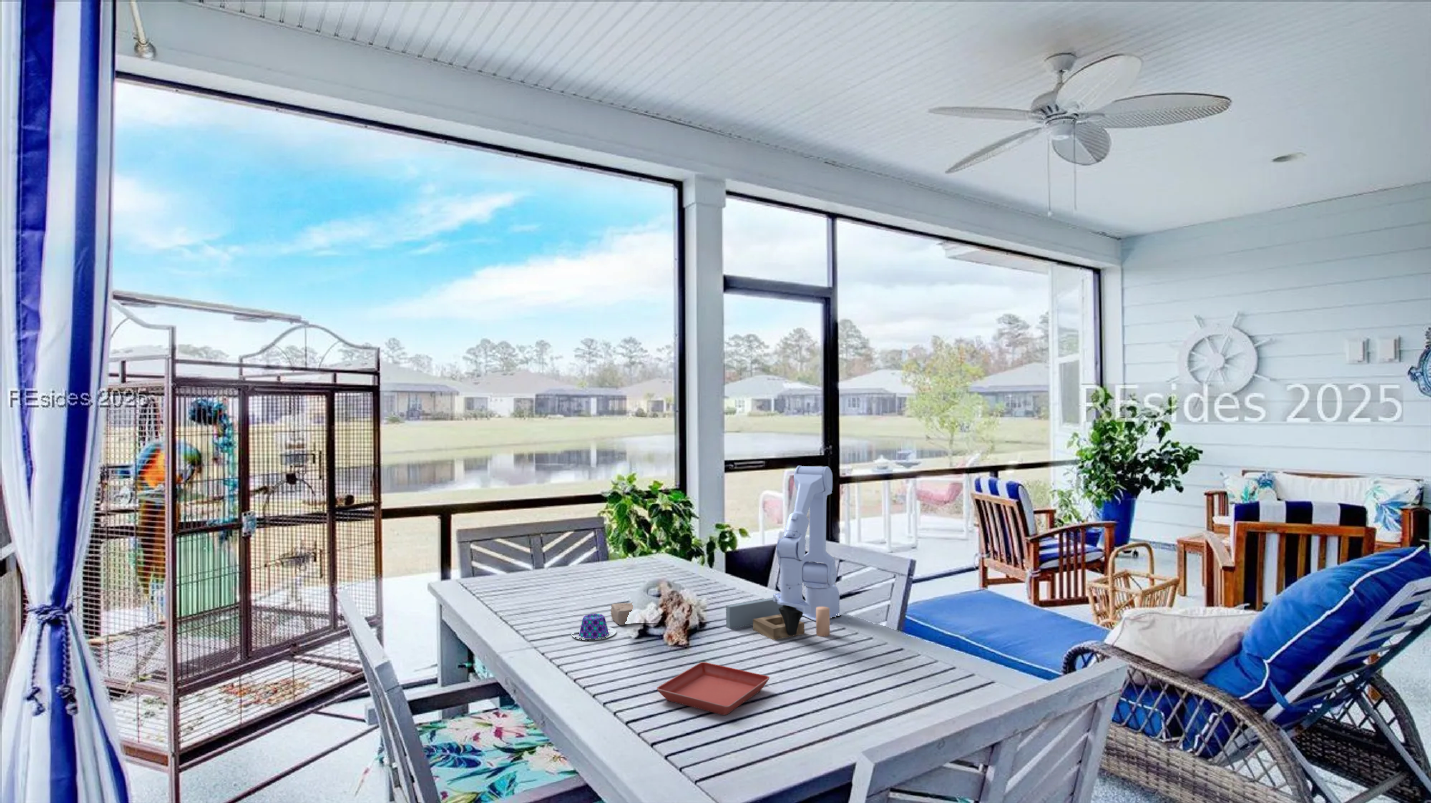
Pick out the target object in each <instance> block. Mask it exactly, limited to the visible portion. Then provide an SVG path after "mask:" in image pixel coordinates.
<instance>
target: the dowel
mask: <svg viewBox="0 0 1431 803" xmlns="http://www.w3.org/2000/svg"><path fill="white" fill-rule="evenodd" d="M830 621H831V618H830V608H828V607H817V608H816V621H815V625H816V626H815V634H816V636H818V637H825V638H826V637H830V635H831V632H830V631H831V630H830V629H831V626H830V625H831V624H830Z"/></svg>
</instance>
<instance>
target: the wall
mask: <svg viewBox="0 0 1431 803" xmlns="http://www.w3.org/2000/svg"><path fill="white" fill-rule="evenodd" d="M725 607H726V608H725V621H726V624H725V625H726V628H727V629H729V630H730V629H731V630H732V629H737V628H741V627H747V626H753V619H757V618H762V617H768V616H773V615H779V614H781V613H780V611H779V607H783V605H780V604H778V603H777V602H774V601H773V597H768V598H763V599H758V600H750V601H746V602H739V603H733V604H732V603H731V604H727V605H725Z"/></svg>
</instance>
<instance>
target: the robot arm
mask: <svg viewBox="0 0 1431 803" xmlns="http://www.w3.org/2000/svg"><path fill="white" fill-rule="evenodd" d="M794 469H795V470H794V472H793V481H794V485H795V488H796V491H797V492H796V497H795V502H794V508H793V509H794V510H793V512H792V513H790V514H789V515H788V517H787V521H786V524H785V528H784V532H783V534H782V537H781V538H779V539H778V541H777V543H776V549H775V550H776V551H775V552H776V557H777V559H778V560H777V563H778V566H780V568H779V570H780V573H779V575H780V577H779V578H780V582H779V583H780V584H779V585H780V593H779V592H778V593H773V595H772V596H773V597H772V598H773V601H774V602H777V603H778V604H780V605H783V607H779V611H780V613H781V615H782V617H783V620H784V623H785V627H786V631H787V634H788V635H790V636H791V635H796V633H797V629H798V625H799V621H801V619H802V617H803V618H807V619H809V620H811V621H814V622H816V608H817V607H828V608H830V619H832V618H831V617H835V616H838V613H840V614H841V612H840V591H839V589H838V586H836V584H835V583H836V580H837V577H838V576H837V567H836V559H835V558H834V557H833V556H832V555H831V554H829V553H828V552H827V545H826V544H827V498H828V496H829V495H831V494H833V492H832V491H833V472H832V470H831V468H830V467H829V466H809V465H808V466H804V465H803V466H802V465H797V466H796V468H794ZM808 512H809V518H808V516H807V515H808ZM808 527H809V530H808ZM807 531H808V532H809V535H808V536H809V537H808V538H809V539H808V541H809V542H808V544H809V545H808V552H807V553H806V544H807V541H806V535H807ZM803 587H805V600H804V599H803ZM836 614H837V615H836ZM835 618H836V617H835Z"/></svg>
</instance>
